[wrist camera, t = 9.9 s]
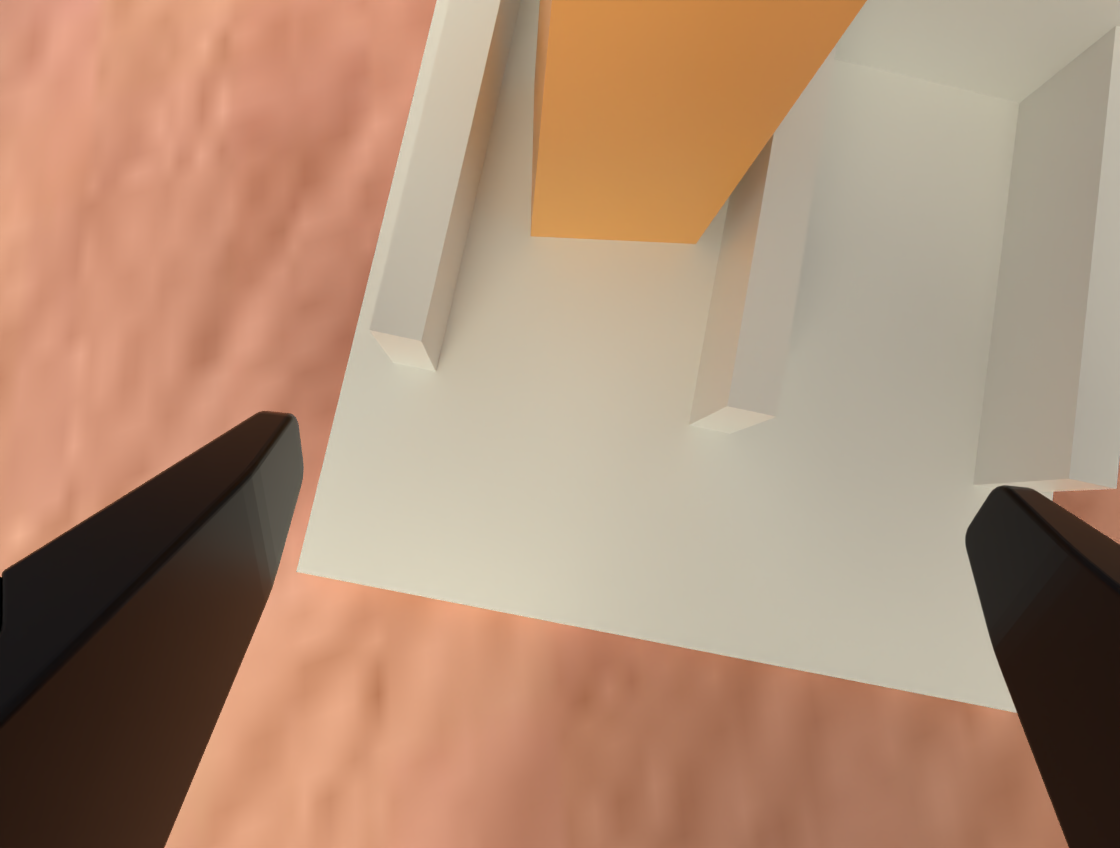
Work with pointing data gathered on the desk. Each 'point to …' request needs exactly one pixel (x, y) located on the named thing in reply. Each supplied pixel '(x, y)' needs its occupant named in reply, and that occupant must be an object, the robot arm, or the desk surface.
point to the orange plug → (663, 107)
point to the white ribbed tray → (746, 353)
